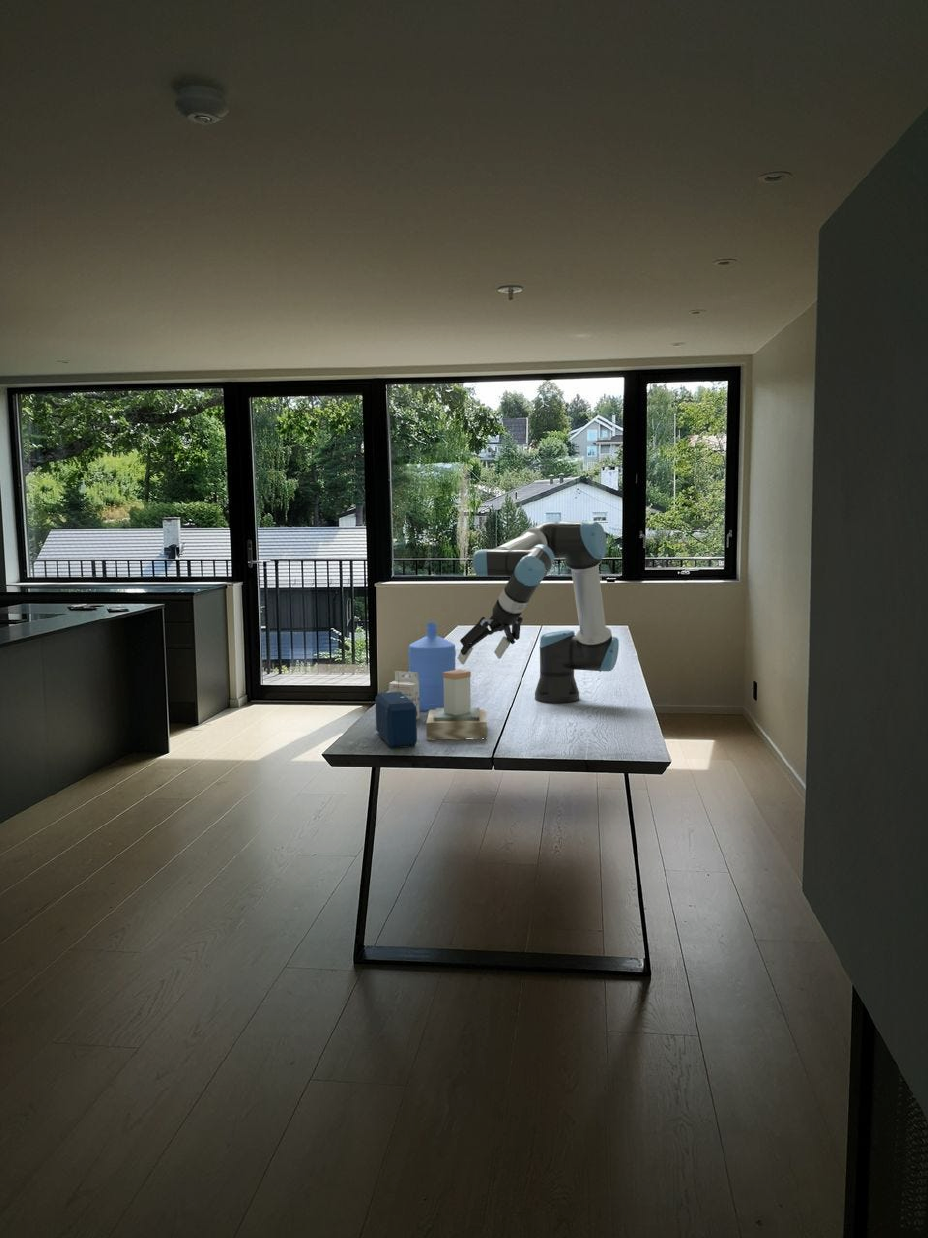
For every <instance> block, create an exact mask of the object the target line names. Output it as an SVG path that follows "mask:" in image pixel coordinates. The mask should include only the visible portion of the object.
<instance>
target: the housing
mask: <svg viewBox="0 0 928 1238" xmlns="http://www.w3.org/2000/svg"><path fill="white" fill-rule="evenodd" d="M471 673H472V672H471V671H469V670H464V669H455V670H453V671H447V672H443V682H444V713H447V714H452V715H460V714H464V713H469V712H471V708H472V707H471V704H472V703H471V676H472V674H471Z"/></svg>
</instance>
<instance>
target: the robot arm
mask: <svg viewBox="0 0 928 1238" xmlns="http://www.w3.org/2000/svg"><path fill="white" fill-rule="evenodd" d="M607 544H608V542H607V536H606V531H605V530H604V528H603V526H602V524H600V522H598V521H593V520H592V521H591V520H590V521H589V520H576V521H575V520H574V521H572V520H571V521H570V520H569V521H568V520H565V521H564V520H562V521H558V520H557V521H556V520H555V521H554V520H553V521H548V522H547V521H546V522H543V523H541V524H537V525H535V526H531V527H529V528H527V529H525V530H524V531H522V532H521V534H520V535H519V536H518V537H515V538H514V539H511V540H510V541H507V542H506V543H503V544H501V545H499V546H497V547H495V548H492V549H488V548H487V549H486V548H485V549H477V550H476V551H474V554H473V558H472V568H473V571H474V574H475V575H476V576H480V577H486V578H487V577H488V578H489V577H503V578H504V577H506V578H507V577H508V578H509V580H508V582H506V585H505V586H504V587H503V589H502V591H501V593H500V594H499V597H498V599H497V600H496V602H495V603H494V605H493V606H492V615H491V616H490V617H489V618H486V617H485V616H482V617H481V618H480V619H479V621H478V622H477V623H476V624H475V625H474V626H473V627H472V628H471V629H470V630H469V631H468V632H467V633H466V634H464V636H463V637H462V638H460V640H459V642H460V644H461V645H462V647H461V649H460V652H459V654H458V656H456V657H457V660H458V661H459V662H460V664H461V665H463V666H464V665H465V664H466V661H467V660H468V659H469V658H470V657H469V656H470V655H471V653H472V651H474V648H473V647H475V645H477V644H478V643H480V642H481V641H482V640H483V639H485V638H487V636H491V635H493V634H494V633H497V632H503V631H504V634H505V635H504V636H502V637H501V640H500V641H499V643H498V645H497V646H496V648H495V650H494V651H493V653H494V654H495V655H496V657H497V658H498V659H502V656H503V655H504V654H505V652H506V651H507V649H508V647H509V646H510V645H514V644H515V643H516V641H517V640H519V639H520V635H521V626H522V625H521V624H522V622H523V620H524V619H523V617H522V616H521V615H522V612H523V611H524V609H525V608H526V606H527V604H528V603H529V602H530V599H531V598H532V596H533V595H534V593H535V591H536V590H537V588H538V587H539V586H540V584H541V582H542V581H543V579H544V578H545V576H546V575H547V574H548V573H549V572H550V570H551V569H552V566H553V564H554V563H555V559H564V563H565V566H566V567H567V568H568V569H569V570H571V578H572V585H573V591H574V598H575V599H574V600H575V605H576V612H577V618H578V627H579V630H578V631H577V633H575V631H574V630H557V631H552V632H546V633H544V634H542V635H540V640H539V679H538V681H537V684H536V688H535V692H534V699H535V700H536V701H539V702H543V703H549V704H550V703H551V704H552V703H553V704H563V703H565V704H566V703H574V702H577V701H579V700H580V691H579V688H578V685H577V681H576V678H575V670H576V671H591V672H592V671H593V672H599V673H601V672H611V671H612V670H614V668H615V666H616V663H617V659H618V656H619V646H620V640H619V638H618V637H617V636H616V637H615V636H612V635H613V634H612V630H611V629H610V628H609V627H608V626H607V625H606V618H605V616H606V615H605V609H604V601H603V600H604V599H603V594H602V587H601V579H600V571H599V570H600V569H599V565H600V564H602V562H603V559H604V558H605V557H606V555H607V552H608V551H607V549H608V547H607ZM575 634H576V635H575Z"/></svg>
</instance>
